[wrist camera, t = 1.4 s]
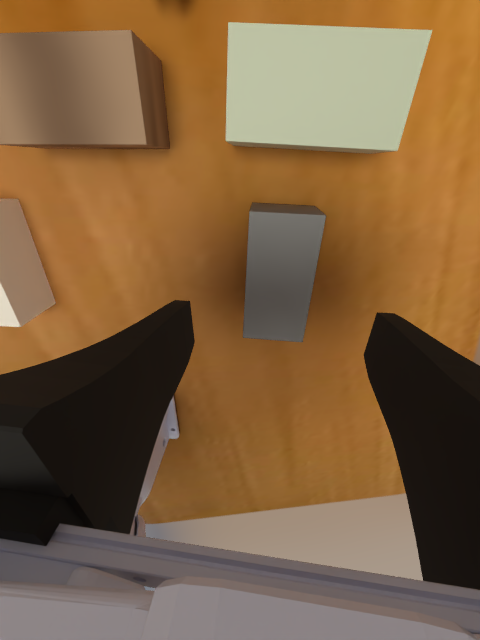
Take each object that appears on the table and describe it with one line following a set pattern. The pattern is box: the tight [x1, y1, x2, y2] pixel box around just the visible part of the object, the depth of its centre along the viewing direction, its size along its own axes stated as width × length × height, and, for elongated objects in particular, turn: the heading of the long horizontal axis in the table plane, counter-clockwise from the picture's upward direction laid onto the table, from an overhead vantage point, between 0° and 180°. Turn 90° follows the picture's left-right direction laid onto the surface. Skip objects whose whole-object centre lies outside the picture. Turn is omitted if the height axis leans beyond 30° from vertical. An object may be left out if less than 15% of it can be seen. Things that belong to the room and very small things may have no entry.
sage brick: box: [226, 22, 432, 154], centre depth 14 cm, size 8×4×4 cm, turn 87°
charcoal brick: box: [243, 203, 326, 342], centre depth 18 cm, size 8×4×4 cm, turn 178°
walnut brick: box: [0, 30, 170, 149], centre depth 14 cm, size 8×4×4 cm, turn 90°
